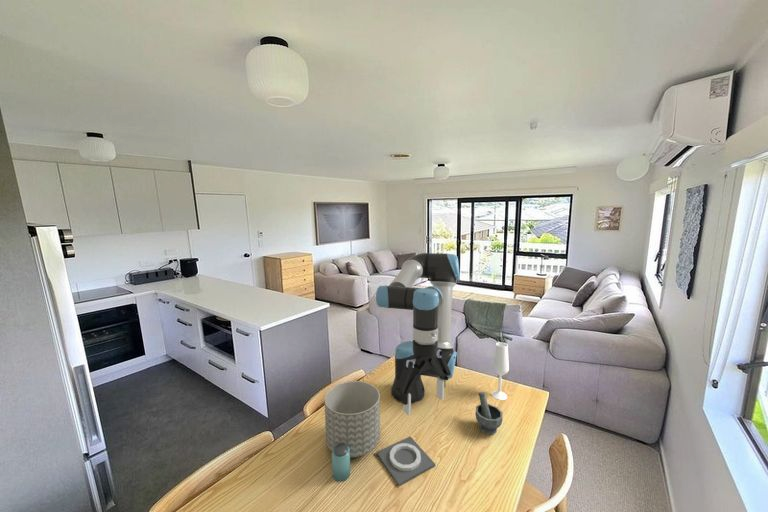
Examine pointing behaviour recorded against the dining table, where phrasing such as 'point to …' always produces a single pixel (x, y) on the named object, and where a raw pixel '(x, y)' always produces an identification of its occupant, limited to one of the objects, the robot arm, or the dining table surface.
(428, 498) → the dining table surface
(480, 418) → the mortar and pestle
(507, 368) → the champagne flute
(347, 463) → the teal and grey peg
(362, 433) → the planter
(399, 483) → the holder
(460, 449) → the dining table surface
